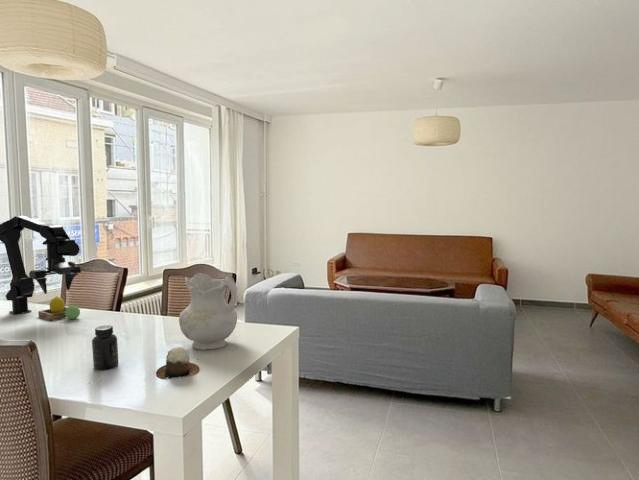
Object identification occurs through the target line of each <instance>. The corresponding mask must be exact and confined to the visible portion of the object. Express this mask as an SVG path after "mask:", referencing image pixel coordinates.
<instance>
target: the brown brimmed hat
mask: <svg viewBox="0 0 639 480" xmlns="http://www.w3.org/2000/svg"><path fill="white" fill-rule="evenodd" d="M165 359H166V360H165V365H162V366H161V367H159V368H158V369H157V370H156V371H155V375H156V376H157V378H160V379H162V380H166V381H168V380H169V379H173V378H178V377H179V378H184V377H194V376H196V375H197V374H198V373H199V371H200V366H199V365H197V364H196V363H194V362H190V356H189V353H188V350H187V349H185V347H182V346H174V347H172V348H171V349H170V350H169V351H167V355H166V357H165Z"/></svg>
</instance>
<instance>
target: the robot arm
mask: <svg viewBox="0 0 639 480" xmlns="http://www.w3.org/2000/svg"><path fill="white" fill-rule="evenodd" d="M25 229H28V230H29V231H33V232H34V233H35V232H36V233H38V234H39V235H40V236H41V237H42V238H44V239H45V241H43V242H42V243H41V244H42V246H45V245H46V256H47V257H45V261H47V267H46V270H44V269H32V270H30V271H29V273H28V274H27V273H26V269H25V265H24V260H23V256H22V253H21V249H20V248H21V247H20V244H19V242H20V239H21V237H22V234H21V232H22V231H24V230H25ZM0 242H1V243H2V244H4V248H5V252H6V256H7V259H8V263H9V267H10V272H11V276H12V277H11V280H10V283H9V286H10V287H9V288H10V289H9V290H8V292H7V293H6V294H5V298H6V299H5V300H6V301H11V306H12V307H11V308H12V310H11V311H8V313H10V314H12V315H21V314H26V313H32V310H30V309H29V302H28V301H29V300H28V298H33V294H34V291H35V286H36V285H35V282H34V280H35V281H36V282H37V283H38V285H39V286H40V288H41V290H42V291H43V293H44V294H45V295H46V294H47V293H48V288H47V280H48V279H47V277H46V276H48V275H60V276H61V275H64V277H65V287H66V291H70V289H71V286H72V283H73V280H74V278H75V277H76V276H78V275H79V274H80V273H82V268H81V266H80V265H76V264H75V261H74V260H70V261H68V262H66V257H76V256H77V255H78V254H79V253H80V250H81V249H80V248H81V247H80V246H79V244H78V243H77V242H76V239H70V236H69V235H68V234H67V232H66V231H65V229H64V227H63V225H59V224H52V223H44V222H42V221H40V220H36V219H33V218H31V217H28V216H26V215H15V216H13V217H12V218H10V219H9V220H6V221H4V222H2V223H0Z"/></svg>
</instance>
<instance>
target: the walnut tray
mask: <svg viewBox="0 0 639 480" xmlns="http://www.w3.org/2000/svg"><path fill="white" fill-rule="evenodd" d="M68 307H69V306H65V308H64V310H63V311H62V312H60V313H53V312H52V311H51V310H50V308H48V309H43V310H38V318H41V319H44V320H47V321H56V320H61V319H65V318H66V316H65V310H66V309H67V308H68Z"/></svg>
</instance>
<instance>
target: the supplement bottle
mask: <svg viewBox="0 0 639 480" xmlns="http://www.w3.org/2000/svg"><path fill="white" fill-rule="evenodd" d="M94 332H95V333H94V335H95V336H94V337H93V338H92V339H91V347H92V362H93V363H92V364H93V369H95V370H96V371H109V370H111V369H114V368H116V367H118V365H119V348H118V345H119V344H118V337H117V335H116V334H114V327H113V325H100V326H96V327H95V328H94Z"/></svg>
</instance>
